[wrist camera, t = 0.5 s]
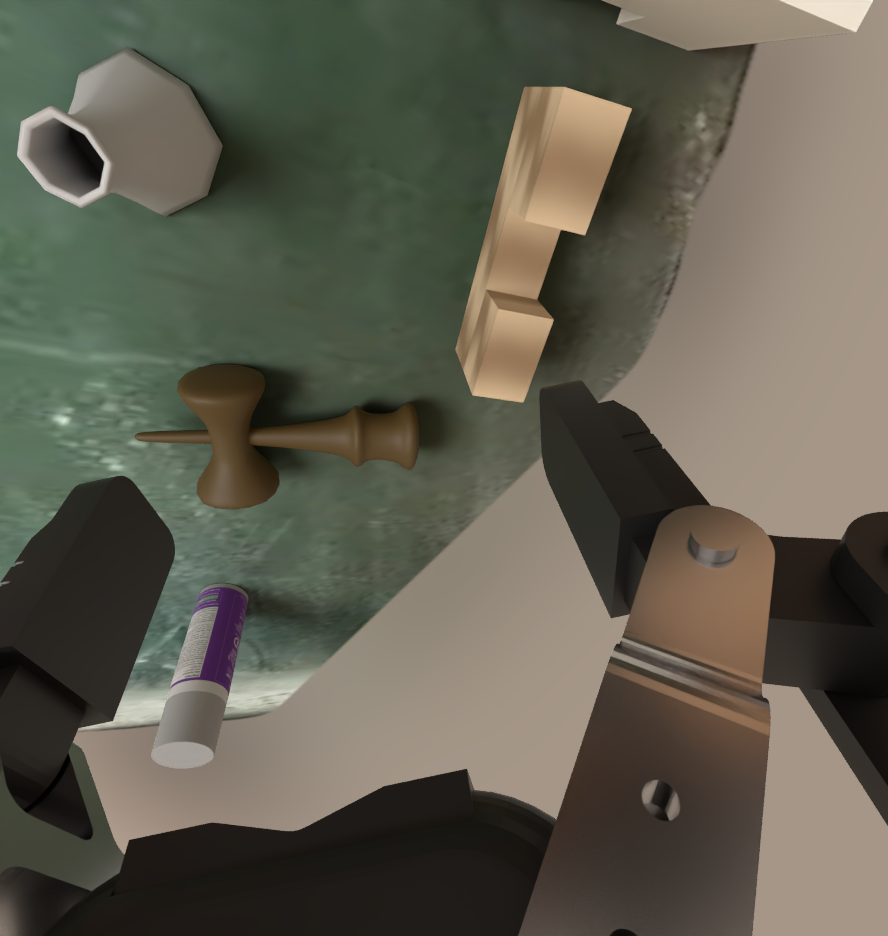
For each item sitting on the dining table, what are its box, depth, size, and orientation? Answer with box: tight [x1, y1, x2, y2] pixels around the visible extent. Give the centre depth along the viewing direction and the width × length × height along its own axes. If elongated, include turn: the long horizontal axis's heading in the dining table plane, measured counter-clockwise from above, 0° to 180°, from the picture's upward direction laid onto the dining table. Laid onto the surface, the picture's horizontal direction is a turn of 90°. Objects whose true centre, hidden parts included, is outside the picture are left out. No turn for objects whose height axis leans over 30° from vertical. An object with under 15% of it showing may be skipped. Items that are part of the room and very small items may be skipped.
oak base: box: [456, 87, 632, 402], centre depth 30 cm, size 16×4×7 cm, turn 167°
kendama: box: [135, 364, 419, 509], centre depth 37 cm, size 6×10×20 cm
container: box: [151, 583, 248, 768], centre depth 44 cm, size 5×5×15 cm
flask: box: [17, 47, 223, 217], centre depth 23 cm, size 7×7×10 cm
